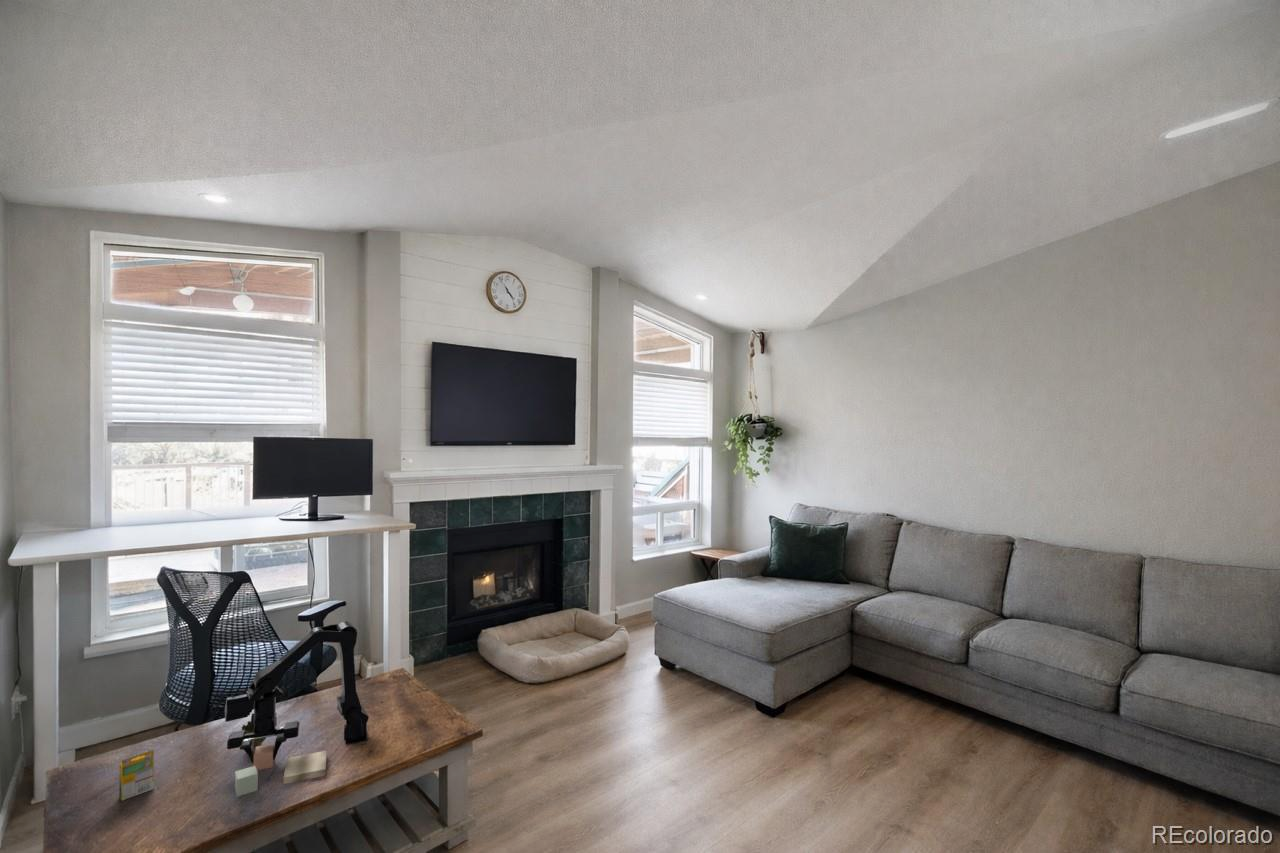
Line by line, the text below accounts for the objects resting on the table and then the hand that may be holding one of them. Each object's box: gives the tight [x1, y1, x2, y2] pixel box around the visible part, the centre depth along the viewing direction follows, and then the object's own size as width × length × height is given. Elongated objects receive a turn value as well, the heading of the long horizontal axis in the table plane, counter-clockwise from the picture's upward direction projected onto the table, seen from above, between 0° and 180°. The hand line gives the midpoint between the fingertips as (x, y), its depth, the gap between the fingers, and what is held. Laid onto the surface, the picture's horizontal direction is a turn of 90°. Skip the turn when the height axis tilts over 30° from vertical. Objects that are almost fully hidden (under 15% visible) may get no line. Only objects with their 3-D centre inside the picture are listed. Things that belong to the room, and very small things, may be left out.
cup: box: [241, 720, 267, 751], centre depth 196 cm, size 8×7×8 cm
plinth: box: [282, 750, 328, 785], centre depth 185 cm, size 11×11×2 cm
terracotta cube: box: [252, 742, 275, 771], centre depth 187 cm, size 5×5×5 cm
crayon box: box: [118, 749, 155, 802], centre depth 172 cm, size 7×3×12 cm, turn 141°
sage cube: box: [234, 765, 259, 797], centre depth 175 cm, size 5×5×5 cm
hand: (264, 761), depth 187 cm, fingers closed on terracotta cube, 5 cm apart
